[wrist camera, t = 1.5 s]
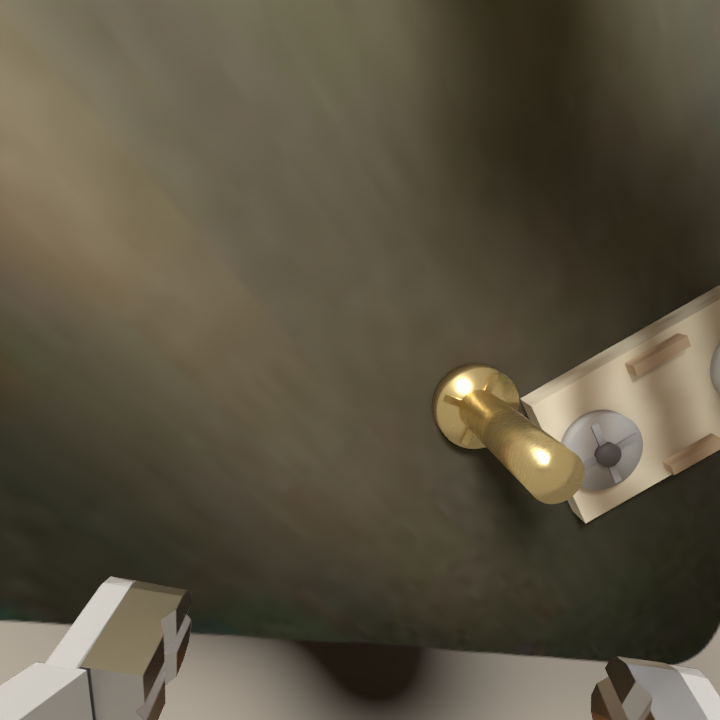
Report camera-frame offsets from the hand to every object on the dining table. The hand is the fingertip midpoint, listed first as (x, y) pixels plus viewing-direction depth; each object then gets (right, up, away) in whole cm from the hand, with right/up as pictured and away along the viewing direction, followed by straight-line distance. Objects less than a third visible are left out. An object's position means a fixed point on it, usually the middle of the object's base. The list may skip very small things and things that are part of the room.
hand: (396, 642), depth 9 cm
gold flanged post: (+9, +2, +29) cm, 31 cm away
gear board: (+26, +2, +31) cm, 41 cm away
